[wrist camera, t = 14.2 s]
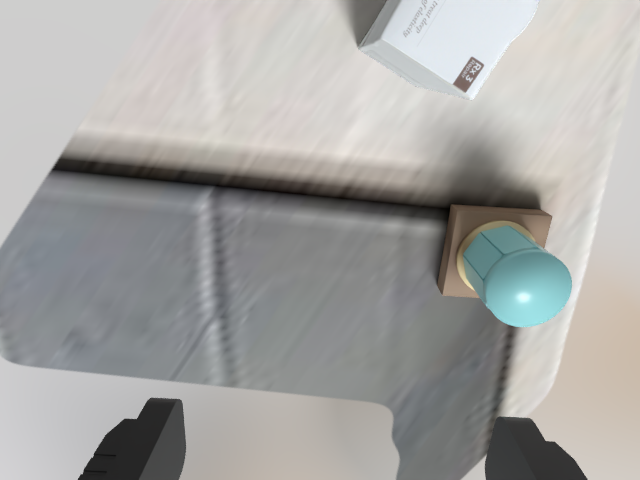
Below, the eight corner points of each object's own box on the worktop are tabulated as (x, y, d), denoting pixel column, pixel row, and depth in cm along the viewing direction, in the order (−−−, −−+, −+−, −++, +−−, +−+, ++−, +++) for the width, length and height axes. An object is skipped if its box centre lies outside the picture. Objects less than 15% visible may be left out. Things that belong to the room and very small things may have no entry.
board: (451, 204, 37) (472, 225, 32) (541, 209, 37) (578, 231, 32) (437, 285, 40) (455, 318, 35) (521, 290, 40) (552, 324, 35)
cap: (468, 297, 38) (492, 334, 32) (458, 235, 36) (482, 263, 30) (536, 282, 37) (574, 317, 31) (530, 218, 35) (569, 244, 29)
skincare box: (414, -54, 31) (486, -169, 17) (481, -7, 32) (601, -78, 18) (353, 54, 33) (372, 33, 19) (417, 95, 34) (478, 102, 20)
